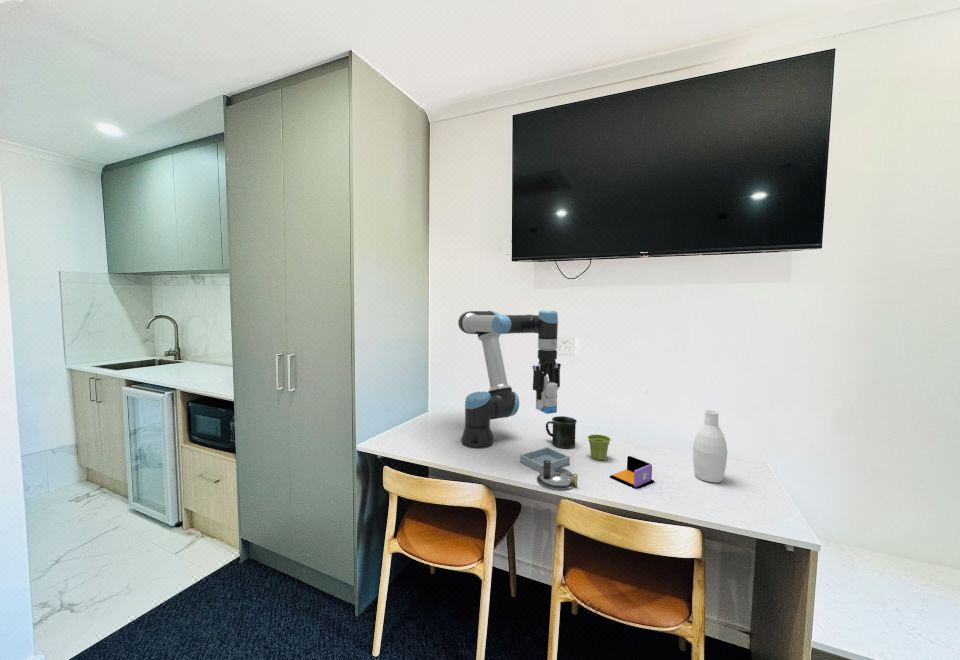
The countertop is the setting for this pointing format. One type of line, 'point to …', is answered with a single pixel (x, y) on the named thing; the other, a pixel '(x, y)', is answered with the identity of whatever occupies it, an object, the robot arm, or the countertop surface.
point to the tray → (538, 457)
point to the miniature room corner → (635, 474)
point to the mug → (563, 431)
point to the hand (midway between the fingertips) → (546, 406)
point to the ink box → (549, 397)
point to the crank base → (560, 488)
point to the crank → (555, 476)
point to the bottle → (710, 450)
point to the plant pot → (599, 446)
